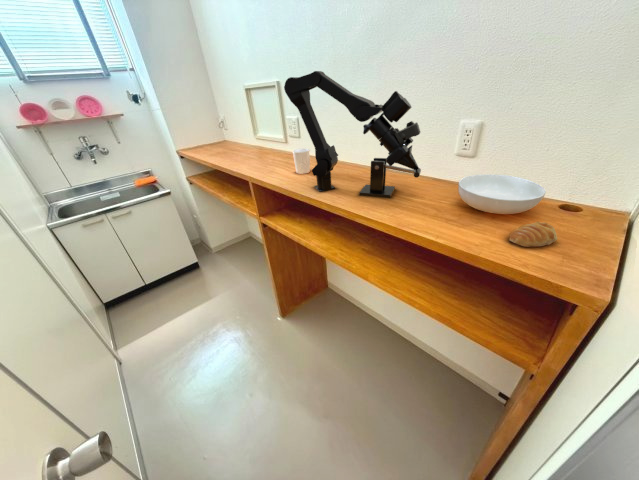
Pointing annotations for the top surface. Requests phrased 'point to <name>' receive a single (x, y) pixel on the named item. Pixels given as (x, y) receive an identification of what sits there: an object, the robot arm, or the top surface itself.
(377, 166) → the bracket
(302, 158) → the white cup
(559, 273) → the top surface
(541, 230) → the pastry
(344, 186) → the top surface
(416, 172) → the lever
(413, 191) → the top surface
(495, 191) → the serving bowl
